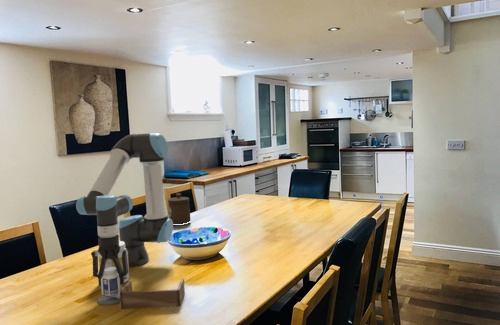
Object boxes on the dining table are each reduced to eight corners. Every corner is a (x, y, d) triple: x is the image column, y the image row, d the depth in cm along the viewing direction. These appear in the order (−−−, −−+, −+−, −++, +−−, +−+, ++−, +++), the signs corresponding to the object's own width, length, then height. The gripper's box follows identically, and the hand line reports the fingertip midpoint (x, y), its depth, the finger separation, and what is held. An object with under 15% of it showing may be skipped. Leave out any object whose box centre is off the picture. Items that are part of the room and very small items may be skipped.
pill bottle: (121, 290, 159) (120, 266, 158) (117, 296, 153) (115, 271, 153) (107, 290, 159) (105, 266, 158) (102, 296, 153) (100, 271, 152)
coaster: (103, 294, 162) (103, 292, 162) (130, 292, 162) (130, 291, 162) (93, 305, 151) (93, 304, 151) (122, 304, 151) (122, 303, 151)
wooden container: (173, 221, 290) (171, 191, 289) (193, 221, 288) (191, 191, 286) (166, 226, 276) (164, 195, 274) (187, 226, 274) (185, 194, 272)
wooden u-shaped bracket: (130, 295, 159) (129, 280, 159) (184, 292, 160) (183, 278, 159) (120, 308, 147) (119, 293, 147) (180, 306, 148) (179, 290, 147)
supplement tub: (107, 276, 181) (104, 240, 180) (133, 276, 181) (131, 239, 180) (95, 287, 169) (93, 248, 168) (124, 286, 169) (121, 247, 167)
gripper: (80, 238, 150) (84, 297, 152) (129, 236, 151) (133, 295, 152) (87, 233, 158) (91, 290, 160) (135, 231, 158) (138, 288, 160)
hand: (112, 292), depth 156 cm, fingers closed on pill bottle, 6 cm apart
